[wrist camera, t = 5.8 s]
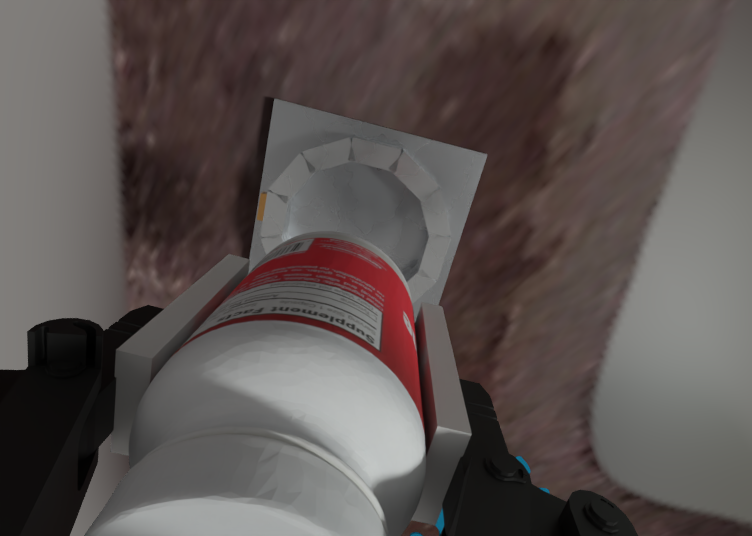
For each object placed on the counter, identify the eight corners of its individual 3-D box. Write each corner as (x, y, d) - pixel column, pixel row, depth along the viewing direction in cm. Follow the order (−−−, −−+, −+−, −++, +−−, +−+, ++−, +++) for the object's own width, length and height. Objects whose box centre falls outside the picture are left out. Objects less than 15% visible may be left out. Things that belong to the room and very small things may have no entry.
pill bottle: (379, 395, 18) (357, 791, 7) (234, 347, 17) (-7, 696, 7) (438, 259, 16) (520, 542, 5) (275, 200, 15) (23, 385, 5)
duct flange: (277, 98, 24) (266, 98, 22) (485, 153, 25) (493, 157, 23) (246, 292, 29) (235, 305, 27) (426, 336, 29) (428, 352, 27)
